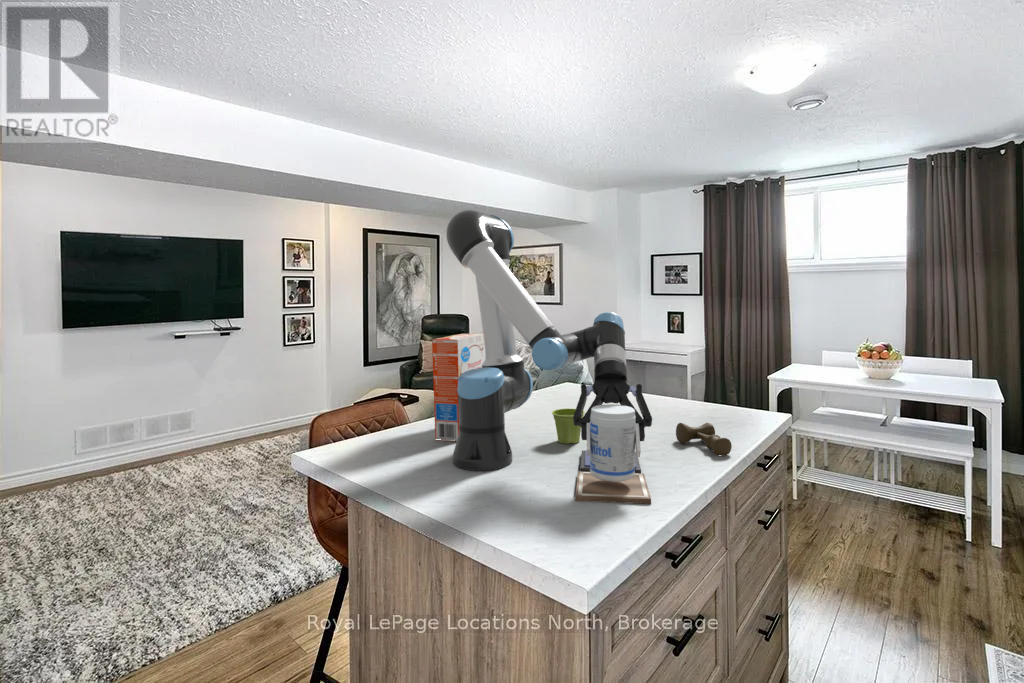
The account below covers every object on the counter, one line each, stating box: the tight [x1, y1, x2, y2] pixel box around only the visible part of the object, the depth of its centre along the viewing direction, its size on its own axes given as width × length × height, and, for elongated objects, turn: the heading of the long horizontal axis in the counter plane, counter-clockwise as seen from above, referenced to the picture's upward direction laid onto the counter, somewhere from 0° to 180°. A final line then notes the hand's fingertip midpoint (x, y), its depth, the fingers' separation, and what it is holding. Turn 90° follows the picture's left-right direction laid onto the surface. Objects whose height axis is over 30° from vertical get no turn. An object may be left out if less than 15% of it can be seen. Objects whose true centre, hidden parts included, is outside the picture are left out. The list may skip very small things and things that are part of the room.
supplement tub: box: [590, 404, 636, 482], centre depth 111 cm, size 10×10×15 cm
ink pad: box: [579, 449, 642, 474], centre depth 128 cm, size 14×14×2 cm
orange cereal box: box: [431, 333, 486, 441], centre depth 162 cm, size 23×8×30 cm, turn 163°
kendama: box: [675, 422, 732, 456], centre depth 142 cm, size 6×10×20 cm
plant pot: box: [551, 408, 586, 445], centre depth 149 cm, size 9×9×9 cm
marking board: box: [575, 471, 652, 505], centre depth 112 cm, size 15×15×1 cm
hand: (613, 453), depth 108 cm, fingers closed on supplement tub, 9 cm apart
